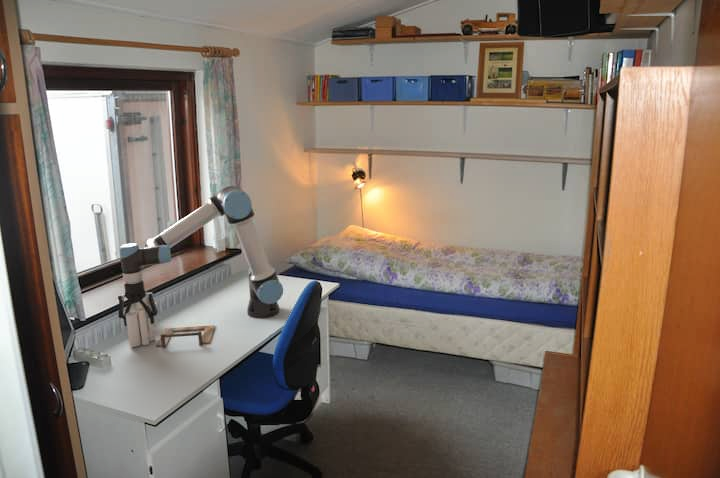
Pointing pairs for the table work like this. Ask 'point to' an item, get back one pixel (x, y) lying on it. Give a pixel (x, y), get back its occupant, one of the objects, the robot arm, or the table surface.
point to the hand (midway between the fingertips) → (140, 331)
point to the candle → (139, 325)
